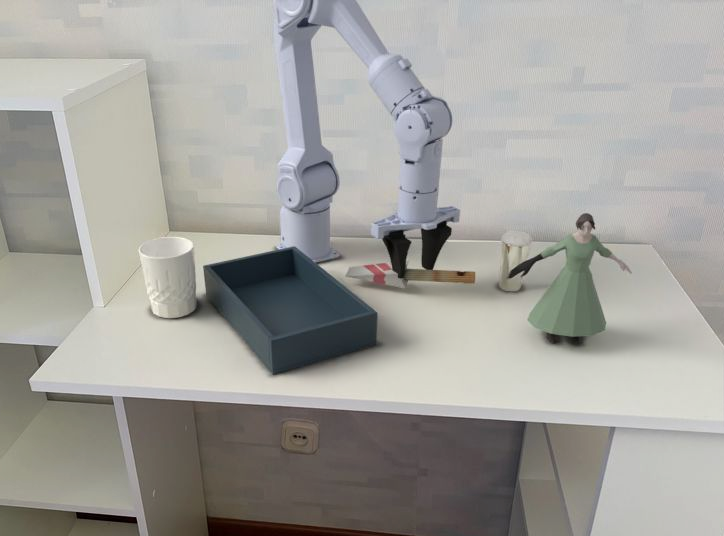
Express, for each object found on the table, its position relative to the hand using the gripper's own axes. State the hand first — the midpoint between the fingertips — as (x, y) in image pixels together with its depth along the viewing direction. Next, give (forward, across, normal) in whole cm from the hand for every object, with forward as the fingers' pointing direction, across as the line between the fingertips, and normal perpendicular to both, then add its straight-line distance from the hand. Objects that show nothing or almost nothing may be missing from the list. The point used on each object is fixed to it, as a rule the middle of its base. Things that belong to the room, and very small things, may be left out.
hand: (412, 272), depth 109 cm
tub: (+3, -22, +1) cm, 22 cm away
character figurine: (+3, +9, -22) cm, 24 cm away
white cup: (+3, -35, +12) cm, 37 cm away
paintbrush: (+2, 0, 0) cm, 2 cm away
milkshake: (+3, +14, -7) cm, 16 cm away
